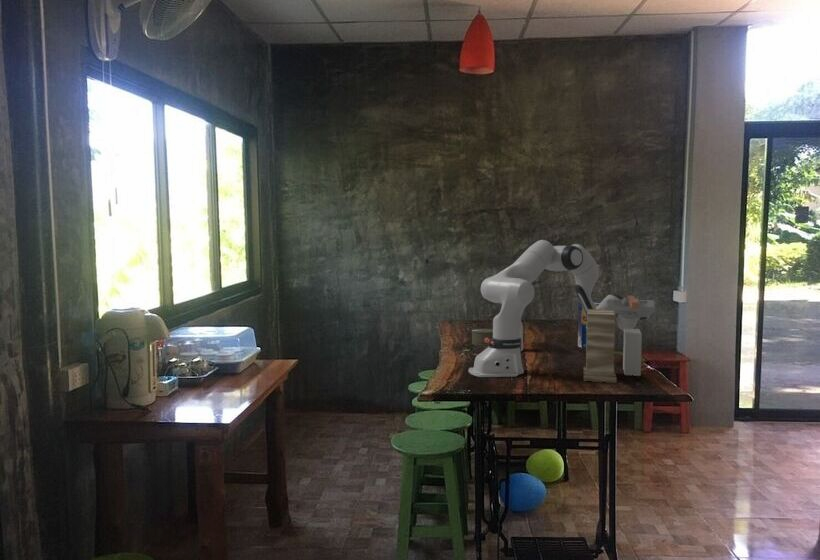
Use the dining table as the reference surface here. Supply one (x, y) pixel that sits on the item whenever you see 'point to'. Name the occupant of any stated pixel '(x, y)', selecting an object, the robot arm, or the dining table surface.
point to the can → (481, 336)
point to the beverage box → (583, 325)
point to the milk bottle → (521, 335)
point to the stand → (600, 346)
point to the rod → (633, 302)
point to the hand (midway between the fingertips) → (631, 298)
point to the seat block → (632, 352)
